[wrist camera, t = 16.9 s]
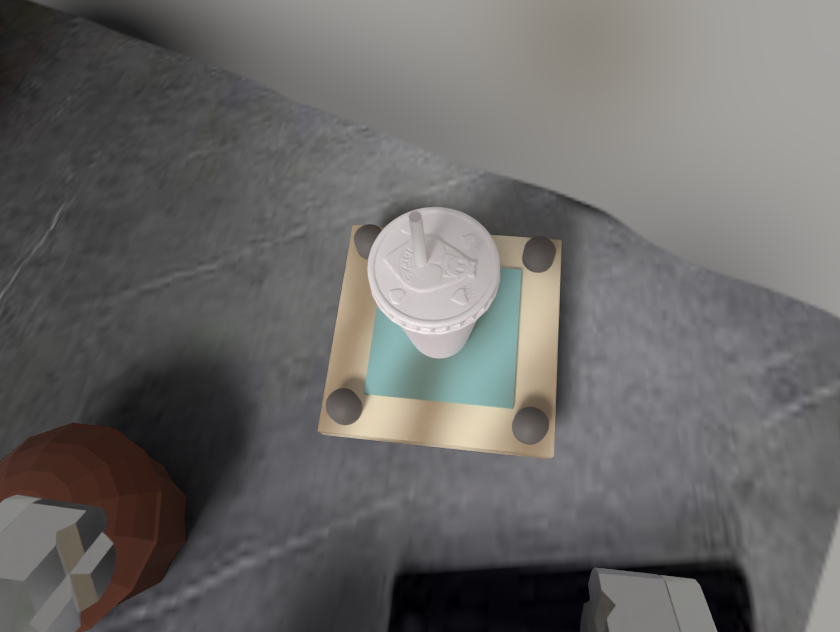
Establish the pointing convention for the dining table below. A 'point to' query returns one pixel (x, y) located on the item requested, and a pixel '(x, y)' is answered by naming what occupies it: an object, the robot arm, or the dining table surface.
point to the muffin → (105, 500)
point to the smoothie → (434, 276)
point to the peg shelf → (451, 362)
